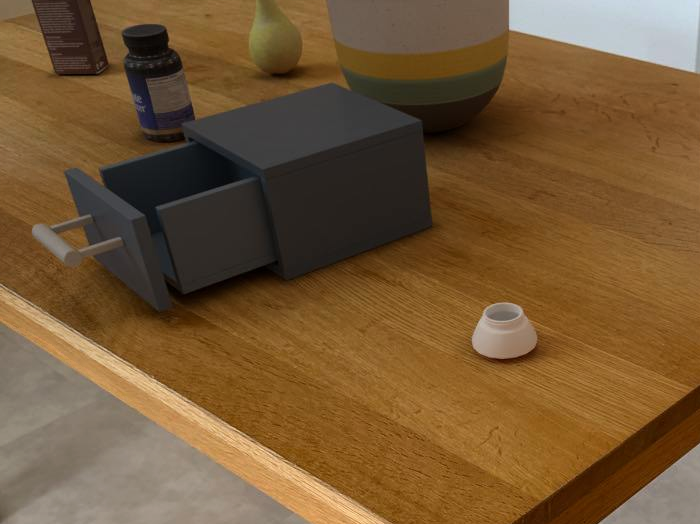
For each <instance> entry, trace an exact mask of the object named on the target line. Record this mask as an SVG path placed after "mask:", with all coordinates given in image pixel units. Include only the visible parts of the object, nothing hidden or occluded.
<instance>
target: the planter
mask: <svg viewBox="0 0 700 524" xmlns="http://www.w3.org/2000/svg"><path fill="white" fill-rule="evenodd" d="M325 2H326V3H325V4H326V8H327V13H328V19H329V24H330V29H331V34H332V39H333V44H334V45H333V46H334V48H335V52H336V56H337V60H338V63H339V66H340V69H341V72H342V75H343V77H344V79H345V82H346V84H347V86H348V89H349V90H351V91H353V92H356V93H358V94H360V95H363V96H365V97H368V98H370V99H372V100H375V101H377V102H379V103H382V104H384V105H387V106H389V107H391V108H394V109H396V110H398V111H401V112H403V113H405V114H408V115H410V116H413V117H415V118H417V119H420V120H422V128H423V130H422V131H423V134H430V133H439V132H445V131H446V132H447V131H449V130H453V129H456V128H458V127H461V126H463V125H465V124H467V123H468V122H470V121H471V120H473V119H475V117H477V116H478V115H479V114H480V113H481V112H482V111H484V109H485V108H486V107H487V106H488V105H489V104H490V102H491V101H492V100H493V98H494V97H495V95H496V94H497V92H498V90H499V89H500V86H501V84H502V81H503V78H504V76H505V70H506V66H507V62H508V53H509V44H510V43H509V41H510V0H325Z"/></svg>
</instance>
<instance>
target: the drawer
mask: <svg viewBox="0 0 700 524" xmlns="http://www.w3.org/2000/svg"><path fill="white" fill-rule="evenodd" d="M98 172H99V175H100V179H101V181H102V183H101V182H99V181H97V180H96V179H94V177H91V176H90V175H89V174H87V173H86V172H84V171H83V170H82V169H81V168H79V167H78V166H75V167H72V168H68V169H66V170H63V174H64V176H65V179H66V182H67V186H68V188H69V191H70V194H71V197H72V199H73V203H74V205H75V208H76V211H77V215H78V217H75V218H73V219H69V220H66V221H63V222H59V223H56V224H51V225H49V226H48V225H47V224H46V223H42V222H41V223H40V222H39V223H36V224H35V225H33V226H32V229H31V234H32V236H33V238H34V239H35V240H37V241H38V242H39V243H40V244H41V245H42V246H44V247H45V249H47V250H48V251H49V252H51V253H52V254H53V255H54V256H55V257H56V258H57V259H59V261H61V262H62V263H63V264H64V265H65V266H67V267H69V268H71V269H76V268H78V267H79V266H81V264H82V262H83V259H87V258H90V257H93V259H94V260H95V261H96V262H98V263H99V264H100V265H101V266H102V267H104V268H105V269H106V270H108V271H109V272H110V273H111V274H112V275H114V276H115V278H117V279H118V280H119V281H121V282H122V283H123V284H125V285H126V286H127V287H128V288H129V289H131V290H132V291H133V292H134V293H135V294H137V295H138V296H139V297H140V298H142V299H143V300H144V301H145V302H146V303H147V304H149V305H150V306H152V307H153V308H154V309H155V310H156V311H157V312H159V313H162V312H165V311H166V310H167V311H168V310H171V309H172V308H173V303H172V300H171V296H170V294H169V289H168V286H167V283H168V284H169V285H171V286H172V287H173V288H175V289H176V290H177V291H179V292H180V293H181V294H183V295H186V294H189V293H192V292H194V291H197V290H200V289H202V288H205V287H209V286H211V285H213V284H217V283H219V282H222V281H225V280H228V279H230V278H233V277H237V276H239V275H242V274H245V273H247V272H251V271H252V270H253V271H254V270H256V269H258V268H261V267H265V266H264V265H267V264H270V263H272V262H275V261H278V259H277V254H276V249H275V245H274V240H273V235H272V231H271V226H270V221H269V217H268V212H267V207H266V203H265V198H264V193H263V189H262V184H261V179H260V177H259V176H257V175H256V174H254V173H252V172H250V171H249V170H247V169H245V168H243V167H241V166H240V165H238V164H236V163H234V162H233V161H231V160H229V159H227V158H226V157H224V156H222V155H220V154H219V153H217V152H215V151H213V150H212V149H210V148H208V147H206V146H205V145H203V144H201V143H199V142H198V141H196V140H195V141H192V142H188V143H186V142H184V143H181V144H178V145H174V146H170V147H168V148H164V149H161V150H156V151H152V152H150V153H146V154H143V155H138V156H135V157H132V158H129V159H125V160H121V161H118V162H115V163H110V164H107V165H104V166H100V167H98ZM81 227H82V228H83V231H84V234H85V235H84V236H85V237H86V240H87V244H88V246H86V247H82V248H79V249H75V247H74V246H72V245H71V244H70V243H68V242H67V241H66V240H65V239H64V238H62V237H61V236H60V235H59V234H62V233H65V232H69V231H71V230H76V229H78V228H81ZM166 282H167V283H166Z"/></svg>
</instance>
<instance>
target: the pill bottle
mask: <svg viewBox="0 0 700 524" xmlns="http://www.w3.org/2000/svg"><path fill="white" fill-rule="evenodd" d="M168 33H169V32H168V29H167V27H166V26H165V25H163V24H159V23H141V24H135V25H131V26H129V27H126V28H124V29H123V30H121V37H122V40H123V44H124V45H125V46H126V48H127V49H128V53H127V54H126V55H125V56H124V57H123V68H124V72H125V76H126V78H127V82H128V86H129V89H130V93H131V97H132V100H133V103H134V107H135V111H136V114H137V117H138V121H139V125H140V128H141V132H142V134H143V136H144V137H145V138H146V139H147V140H150V141H155V142H161V143H164V142H173V141H178V140H183V139H185V137H184V133H183V129H182V126H181V124H182V123H185V122H189V121H193V120H196V119H197V118H196V114H195V109H194V106H193V103H192V98H191V94H190V90H189V87H188V86H189V85H188V82H187V79H186V75H185V69H184V67H183V63H182V62H183V61H182V58H181V56H180V54H179V53H178V52H177V51H176V50H175V49H173V48H171V47H170V46H169V42H170V36H169V34H168Z"/></svg>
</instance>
